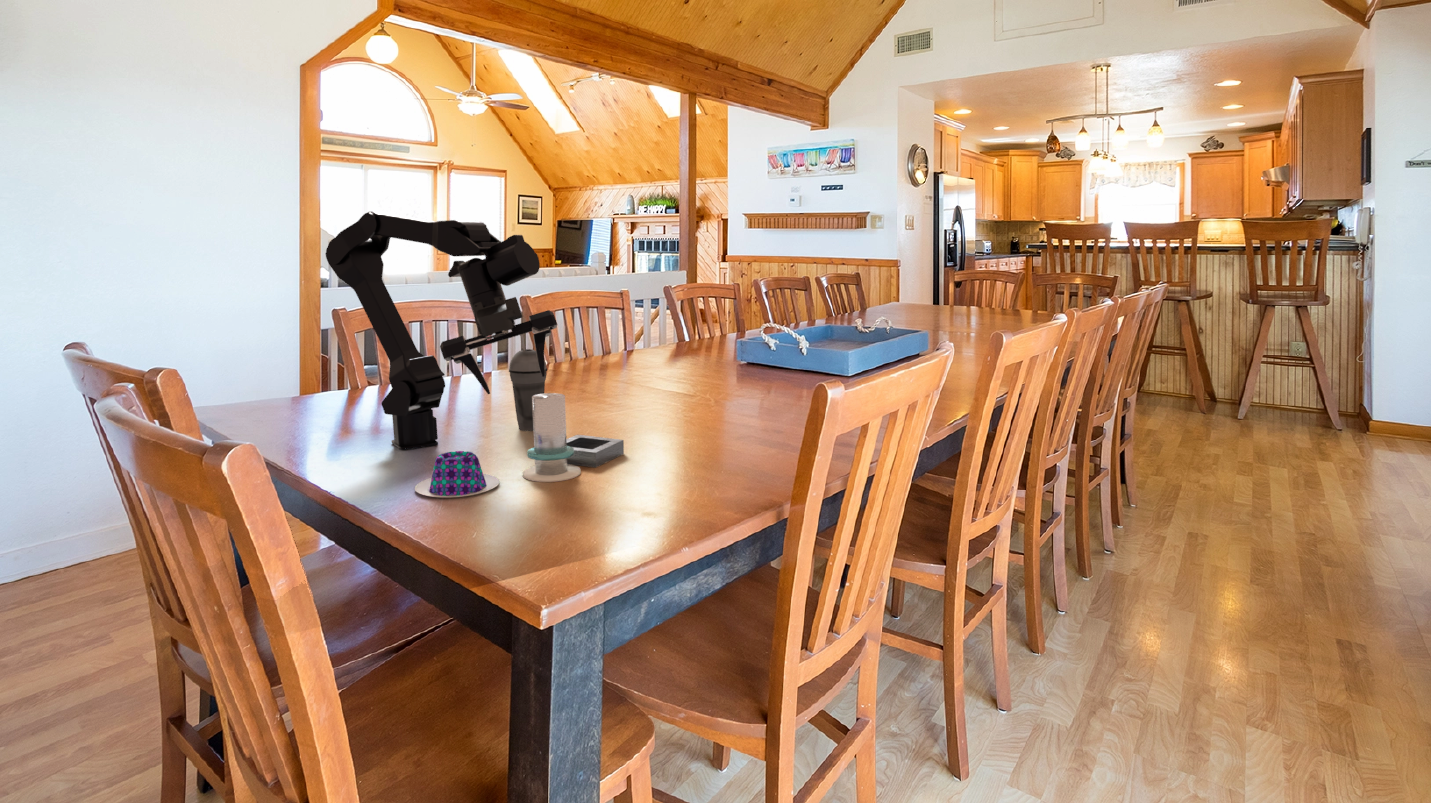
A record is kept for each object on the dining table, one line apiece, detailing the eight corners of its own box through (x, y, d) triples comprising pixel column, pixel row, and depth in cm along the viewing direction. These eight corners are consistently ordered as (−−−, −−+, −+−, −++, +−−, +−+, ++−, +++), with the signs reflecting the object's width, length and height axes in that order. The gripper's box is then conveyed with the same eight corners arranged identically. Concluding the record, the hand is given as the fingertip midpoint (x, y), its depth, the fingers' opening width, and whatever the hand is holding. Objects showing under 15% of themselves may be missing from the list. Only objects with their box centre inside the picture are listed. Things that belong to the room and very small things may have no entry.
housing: (595, 467, 128) (595, 452, 127) (548, 461, 131) (547, 446, 131) (623, 453, 136) (623, 439, 135) (578, 448, 139) (577, 434, 139)
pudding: (506, 476, 123) (504, 444, 122) (491, 501, 112) (489, 465, 111) (428, 478, 122) (425, 445, 121) (404, 503, 111) (401, 467, 110)
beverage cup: (544, 433, 150) (540, 328, 146) (506, 432, 150) (501, 328, 146) (553, 424, 157) (549, 324, 153) (516, 423, 158) (512, 324, 154)
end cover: (530, 479, 120) (526, 402, 117) (525, 466, 126) (522, 393, 124) (577, 475, 122) (575, 399, 120) (571, 462, 129) (568, 390, 126)
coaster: (536, 485, 118) (536, 482, 118) (513, 471, 125) (513, 469, 125) (590, 475, 123) (590, 473, 123) (565, 462, 130) (565, 460, 130)
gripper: (422, 304, 119) (456, 402, 120) (541, 270, 124) (573, 365, 124) (430, 313, 130) (461, 403, 131) (540, 282, 134) (569, 369, 135)
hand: (516, 385), depth 130 cm, fingers open, 9 cm apart
